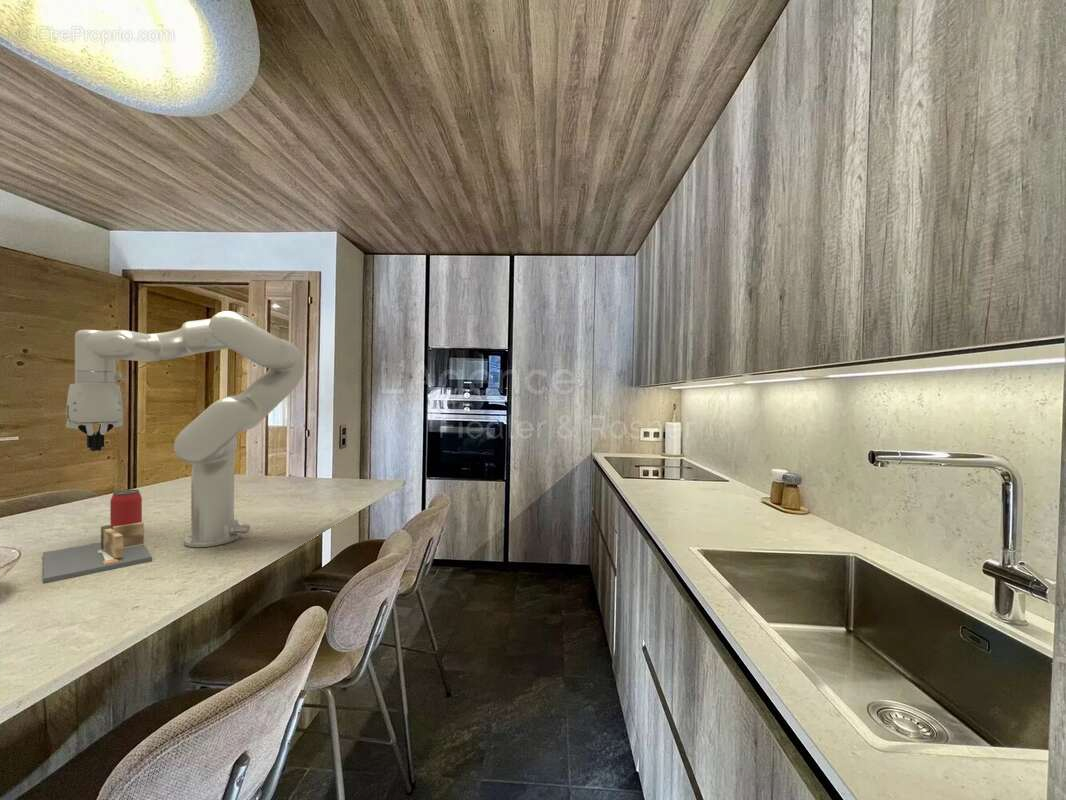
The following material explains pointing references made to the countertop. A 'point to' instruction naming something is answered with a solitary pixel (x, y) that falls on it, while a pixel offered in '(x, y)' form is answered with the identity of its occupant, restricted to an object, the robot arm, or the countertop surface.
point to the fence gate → (111, 541)
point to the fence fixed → (131, 534)
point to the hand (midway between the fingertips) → (95, 450)
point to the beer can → (125, 508)
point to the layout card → (88, 560)
